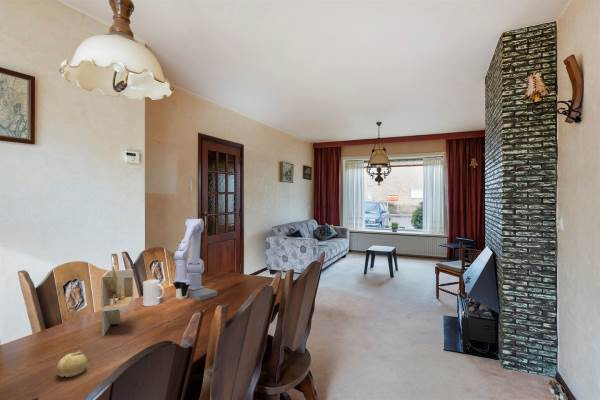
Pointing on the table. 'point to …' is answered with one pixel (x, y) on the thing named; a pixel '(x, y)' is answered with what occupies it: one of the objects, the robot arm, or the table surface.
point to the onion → (71, 364)
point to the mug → (151, 292)
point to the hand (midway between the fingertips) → (181, 295)
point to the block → (179, 294)
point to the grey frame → (115, 295)
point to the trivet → (202, 294)
